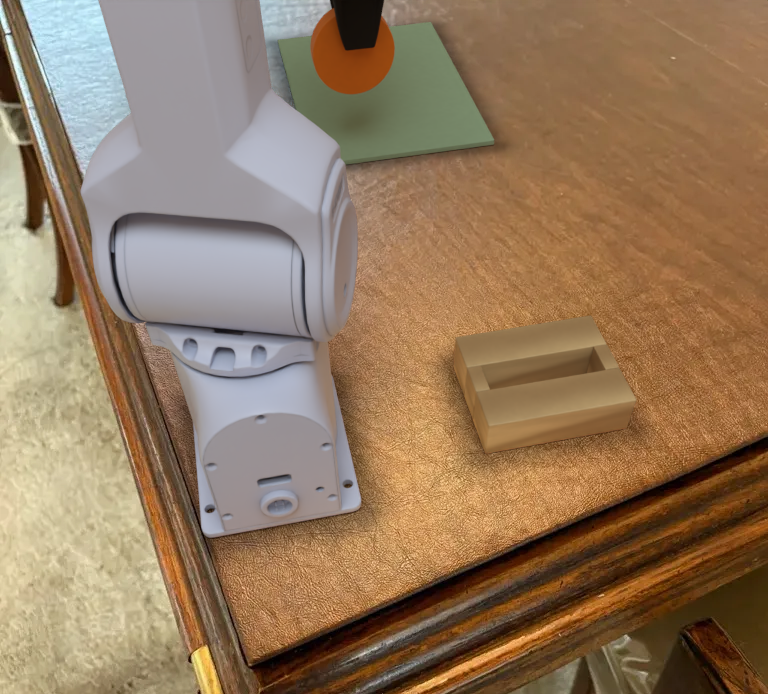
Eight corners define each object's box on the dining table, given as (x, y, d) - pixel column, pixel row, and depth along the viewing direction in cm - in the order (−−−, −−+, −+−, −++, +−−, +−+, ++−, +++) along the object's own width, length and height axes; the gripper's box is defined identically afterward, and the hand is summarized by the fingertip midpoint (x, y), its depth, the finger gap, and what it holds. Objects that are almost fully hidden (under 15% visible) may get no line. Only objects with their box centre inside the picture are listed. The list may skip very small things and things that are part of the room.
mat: (494, 144, 60) (494, 140, 60) (311, 169, 58) (311, 164, 58) (430, 26, 72) (430, 21, 72) (278, 44, 70) (277, 39, 70)
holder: (627, 429, 43) (637, 399, 41) (484, 454, 42) (488, 425, 40) (583, 344, 47) (591, 314, 45) (452, 366, 46) (455, 336, 44)
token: (400, 82, 56) (387, 0, 51) (323, 104, 56) (303, 23, 51) (396, 74, 56) (383, -8, 52) (320, 95, 56) (301, 15, 52)
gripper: (452, -186, 39) (441, 86, 49) (389, -257, 47) (392, -12, 58) (308, -173, 38) (329, 100, 49) (272, -248, 46) (296, -2, 57)
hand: (356, 40), depth 53 cm, fingers closed on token, 1 cm apart
